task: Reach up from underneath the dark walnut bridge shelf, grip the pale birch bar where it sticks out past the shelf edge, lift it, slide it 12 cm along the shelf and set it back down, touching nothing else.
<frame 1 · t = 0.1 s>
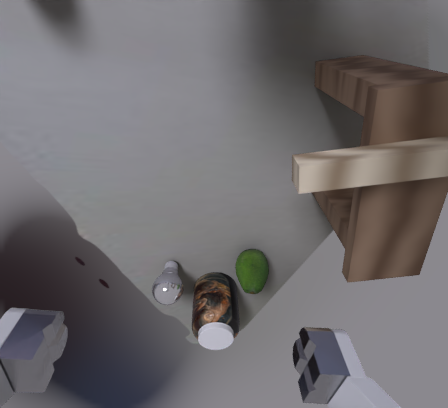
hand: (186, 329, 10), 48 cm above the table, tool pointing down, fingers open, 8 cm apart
light bulb: (172, 262, 73), on the table
avocado: (249, 253, 72), on the table
jar: (215, 287, 78), on the table
birch bar: (386, 156, 31), point 26 cm above the table, touching walnut shelf
walnut shelf: (327, 130, 56), on the table
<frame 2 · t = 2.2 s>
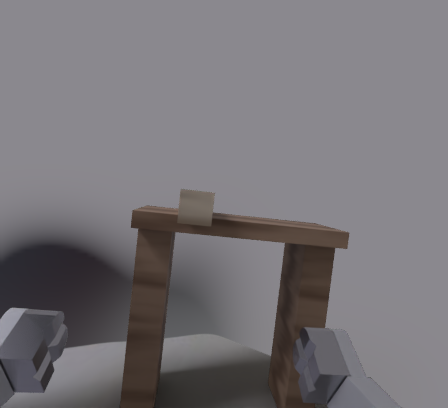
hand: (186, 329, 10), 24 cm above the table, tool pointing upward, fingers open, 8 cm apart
birch bar: (194, 215, 35), point 26 cm above the table, touching walnut shelf
walnut shelf: (217, 404, 40), on the table
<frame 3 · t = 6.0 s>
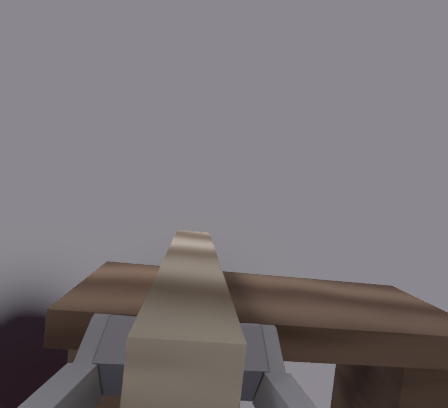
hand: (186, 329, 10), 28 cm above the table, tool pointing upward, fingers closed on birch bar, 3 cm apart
birch bar: (187, 304, 17), point 26 cm above the table, touching gripper, walnut shelf
when the fingers open (29 cm above the table, at t = 10.9 s): birch bar stays where it is, resting on walnut shelf.
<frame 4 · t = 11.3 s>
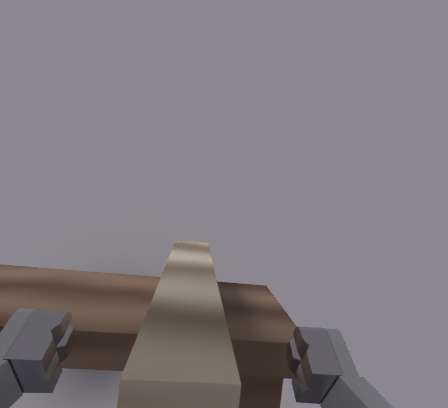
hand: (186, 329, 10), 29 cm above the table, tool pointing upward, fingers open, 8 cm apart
birch bar: (184, 320, 17), point 26 cm above the table, touching walnut shelf
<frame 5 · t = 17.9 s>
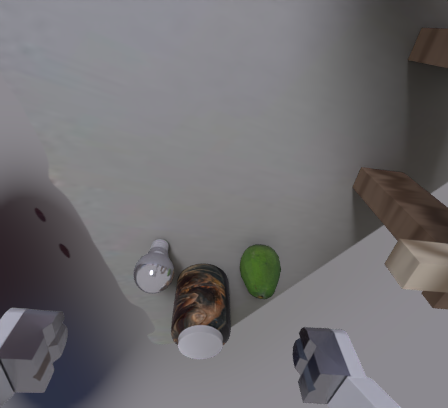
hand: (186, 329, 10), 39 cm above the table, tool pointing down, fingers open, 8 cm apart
light bulb: (161, 241, 58), on the table
avocado: (256, 250, 60), on the table
jar: (202, 282, 65), on the table
walnut shelf: (399, 121, 46), on the table
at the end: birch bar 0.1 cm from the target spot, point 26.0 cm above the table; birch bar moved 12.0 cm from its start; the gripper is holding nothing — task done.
